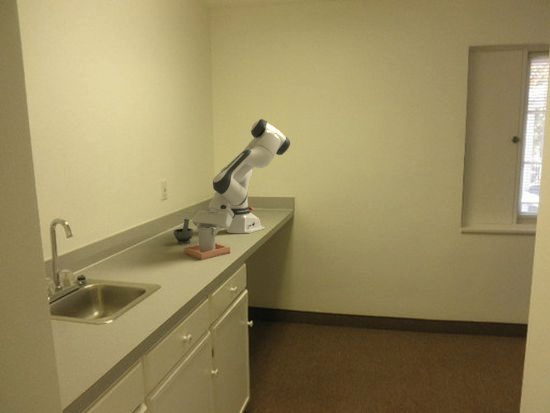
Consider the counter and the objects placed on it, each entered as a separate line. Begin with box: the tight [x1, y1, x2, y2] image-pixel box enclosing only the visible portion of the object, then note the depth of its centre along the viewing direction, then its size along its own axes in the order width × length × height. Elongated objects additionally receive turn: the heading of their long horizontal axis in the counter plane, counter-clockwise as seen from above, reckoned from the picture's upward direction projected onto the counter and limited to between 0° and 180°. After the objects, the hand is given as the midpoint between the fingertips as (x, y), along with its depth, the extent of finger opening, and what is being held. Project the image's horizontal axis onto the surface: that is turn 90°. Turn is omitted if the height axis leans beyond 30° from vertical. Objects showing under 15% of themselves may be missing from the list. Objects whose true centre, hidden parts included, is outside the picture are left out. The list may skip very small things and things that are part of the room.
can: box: [197, 226, 216, 253], centre depth 195 cm, size 8×8×12 cm
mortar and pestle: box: [173, 218, 194, 245], centre depth 219 cm, size 11×9×12 cm
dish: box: [183, 242, 231, 261], centre depth 196 cm, size 15×15×3 cm
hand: (205, 233), depth 194 cm, fingers open, 8 cm apart
